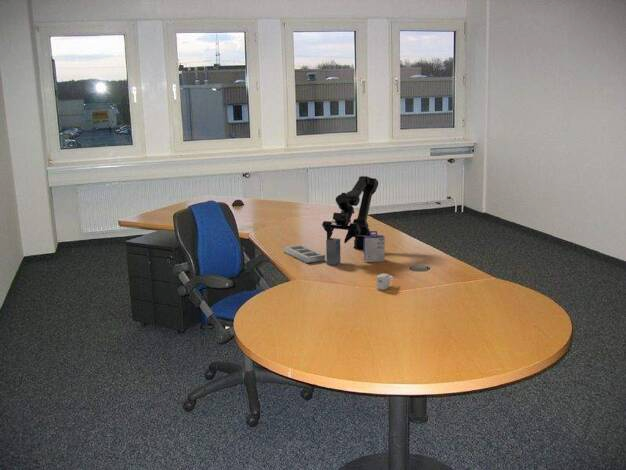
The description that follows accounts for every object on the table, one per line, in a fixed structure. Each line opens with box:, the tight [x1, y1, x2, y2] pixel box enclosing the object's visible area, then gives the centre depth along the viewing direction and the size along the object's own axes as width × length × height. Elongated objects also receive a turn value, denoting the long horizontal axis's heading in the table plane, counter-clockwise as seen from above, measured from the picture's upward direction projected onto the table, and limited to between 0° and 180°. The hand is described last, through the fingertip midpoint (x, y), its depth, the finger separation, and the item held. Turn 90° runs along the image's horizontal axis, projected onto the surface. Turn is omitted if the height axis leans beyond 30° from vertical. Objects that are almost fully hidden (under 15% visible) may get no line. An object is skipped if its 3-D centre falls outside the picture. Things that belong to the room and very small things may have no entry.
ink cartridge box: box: [363, 230, 386, 263], centre depth 296 cm, size 10×6×14 cm, turn 95°
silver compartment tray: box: [283, 244, 326, 265], centre depth 308 cm, size 26×10×3 cm, turn 27°
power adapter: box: [375, 272, 395, 291], centre depth 255 cm, size 11×5×6 cm, turn 150°
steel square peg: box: [325, 237, 342, 266], centre depth 292 cm, size 5×5×12 cm
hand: (336, 241), depth 294 cm, fingers open, 9 cm apart
